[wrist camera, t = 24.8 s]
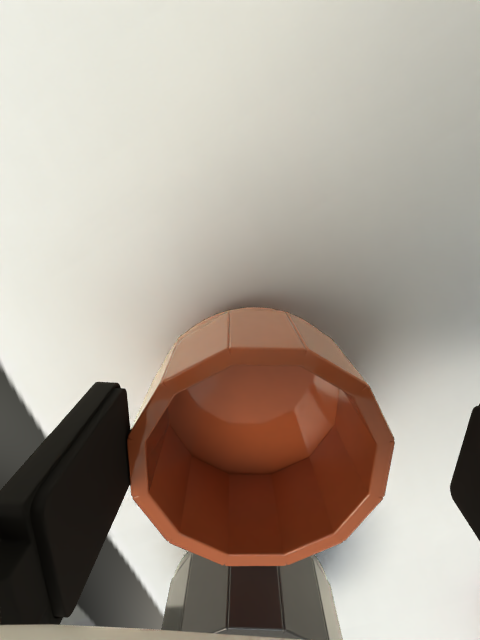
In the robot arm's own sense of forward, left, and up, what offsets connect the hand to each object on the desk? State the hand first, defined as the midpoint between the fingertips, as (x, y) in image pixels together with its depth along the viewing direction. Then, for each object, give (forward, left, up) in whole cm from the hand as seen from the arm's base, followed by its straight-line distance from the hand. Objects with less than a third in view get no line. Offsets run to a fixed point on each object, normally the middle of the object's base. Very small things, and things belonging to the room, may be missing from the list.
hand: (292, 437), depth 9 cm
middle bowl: (+1, -1, -5) cm, 5 cm away
